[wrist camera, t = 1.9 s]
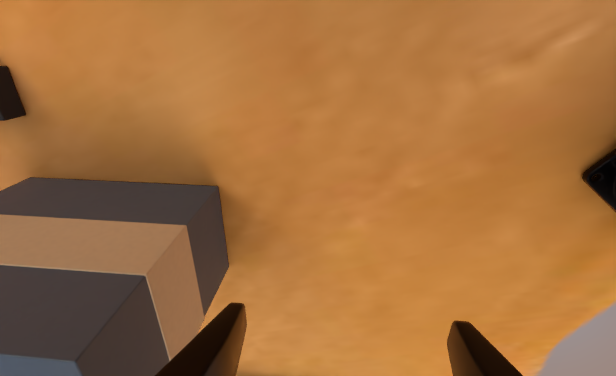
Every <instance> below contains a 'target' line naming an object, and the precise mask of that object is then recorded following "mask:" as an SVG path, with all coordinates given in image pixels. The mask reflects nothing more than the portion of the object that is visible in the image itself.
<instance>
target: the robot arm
mask: <svg viewBox="0 0 616 376" xmlns="http://www.w3.org/2000/svg"><path fill="white" fill-rule="evenodd" d="M595 174H597V175H596V177H595V178H593V179H592V177H593V176H594V175H595ZM582 179H583V181H584V182H585V183H586V184H587V185H588V186H589V187H590V188H591V189H592V190H593V191H594V192H595V193H596V194H597V195H598V196H599V197H601V198H602V199H603V200H604V201H605V202H606V203H607V204H608V205H609V206H610V207H611V208H612V209H613V210H614V211H615V212H616V149H615V150H614V151H612V152H611V153H609V154H608V155H607V156H605V157H604V158H603V159H601V160H600V161H598V162H597V163H596V164H594V165H593V166H592V167H590V168H589V169H587V170H586V171H585V172H584V174H583V176H582ZM246 326H247V321H246V312H245V306H244V304H242V303H230V304H229V305H228V306H227V307H226V308H224V309H223V310H222V311H221V312H220V313H219V314H218V315H217V316H216V317H215V318H214V319H213V320H212V321H211V322H210V323H209V324H208V325H207V326H206V327H205V328H204V329H203V330H202V331H201V332H200V333H198V334H197V335H196V336H195V337H194V338H193V339H192V340H191V341H190V342H189V343H188V344H187V345H186V346H185V347H184V348H183V349H182V350H181V351H180V352H179V353H178V354H177V355H176V356H175V357H174V358H172V359H171V360H170V361H169V362H168V363H167V364H166V365H165V366H164V367H163V368H162V369H161V370H160V371H159V372H158V373H157V374H156V375H155V376H236V372H237V368H238V363H239V359H240V354H241V350H242V346H243V341H244V337H245V332H246ZM447 347H448V353H449V358H450V363H451V368H452V373H453V376H523V375H522V374H521V373H520V372H519V371H518V370H517V369H516V368H515V367H514V366H513V365H512V364H511V363H510V362H509V361H508V360H507V359H506V358H505V357H504V356H503V355H502V354H501V353H500V352H499V351H498V350H497V349H496V348H495V347H494V346H493V345H492V344H491V343H490V342H489V341H488V340H487V339H486V338H485V337H484V336H483V335H482V334H481V333H480V332H479V331H478V330H477V329H476V328H475V327H474V326H473V325H472V324H471V323H469V322H467V321H454V322H453V323H452V326H451V329H450V333H449V336H448V340H447Z"/></svg>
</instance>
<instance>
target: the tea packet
mask: <svg viewBox="0 0 616 376" xmlns="http://www.w3.org/2000/svg"><path fill="white" fill-rule="evenodd" d="M228 267H229V264H228V256H227V249H226V241H225V234H224V226H223V219H222V211H221V204H220V196H219V189H218V186H203V185H182V184H161V183H140V182H118V181H97V180H76V179H55V178H34V177H30V178H28V179H25V180H23V181H21V182H19V183H17V184H15V185H12V186H10V187H8V188H6V189H4V190H2V191H0V376H155V375H156V374H157V373H158V372H159V371H160V370H161V369H162V368H163V367H164V366H165V365H166V364H167V363H168V362H169V361H170V360H171V359H172V358H174V357H175V356H176V355H177V354H178V353H179V352H180V351H181V350H182V349H183V348H184V347H185V346H186V345H187V344H188V343H189V342H190V341H191V340H192V339H193V338H194V337H195V336H196V335H197V333H198V331H199V329H200V327H201V325H202V323H203V321H204V317H205V315H206V313H207V310H208V308H209V306H210V304H211V302H212V300H213V298H214V296H215V294H216V292H217V290H218V288H219V286H220V284H221V282H222V280H223V278H224V276H225V274H226V271H227V269H228Z"/></svg>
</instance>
